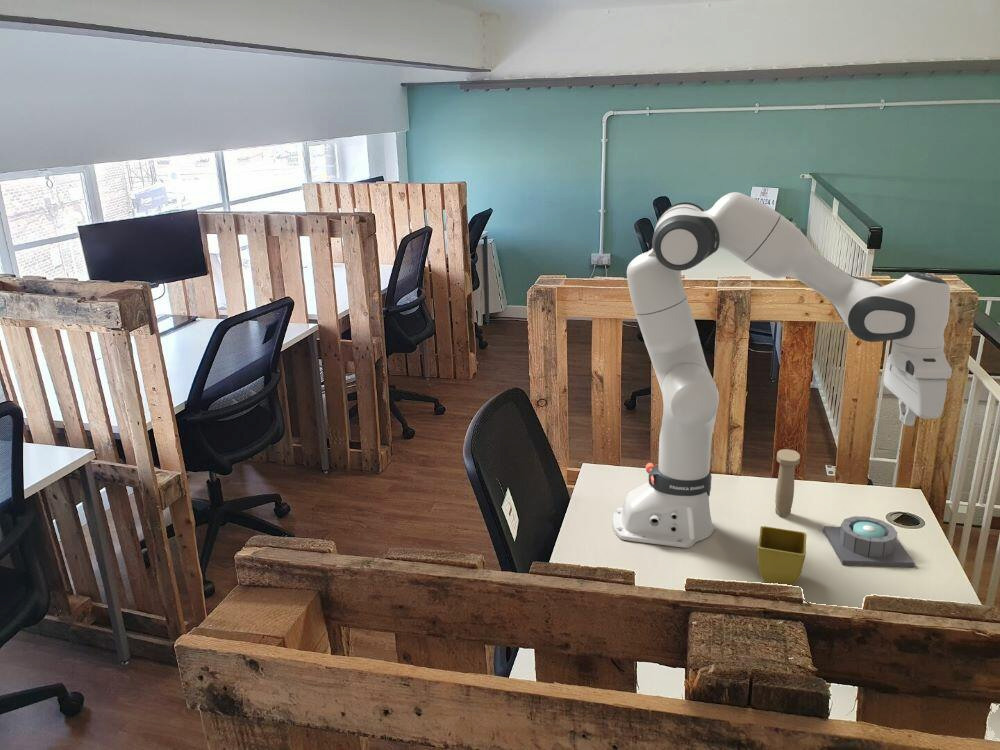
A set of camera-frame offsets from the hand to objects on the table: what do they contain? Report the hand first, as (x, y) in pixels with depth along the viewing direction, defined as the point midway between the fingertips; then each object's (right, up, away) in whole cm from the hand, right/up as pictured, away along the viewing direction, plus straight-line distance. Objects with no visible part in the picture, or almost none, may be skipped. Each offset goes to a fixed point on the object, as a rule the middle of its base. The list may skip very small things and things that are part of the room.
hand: (906, 423), depth 154 cm
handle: (-15, -23, +25) cm, 38 cm away
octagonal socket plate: (-3, -27, +11) cm, 29 cm away
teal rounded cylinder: (-3, -26, +10) cm, 28 cm away
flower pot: (-25, -32, +1) cm, 40 cm away
